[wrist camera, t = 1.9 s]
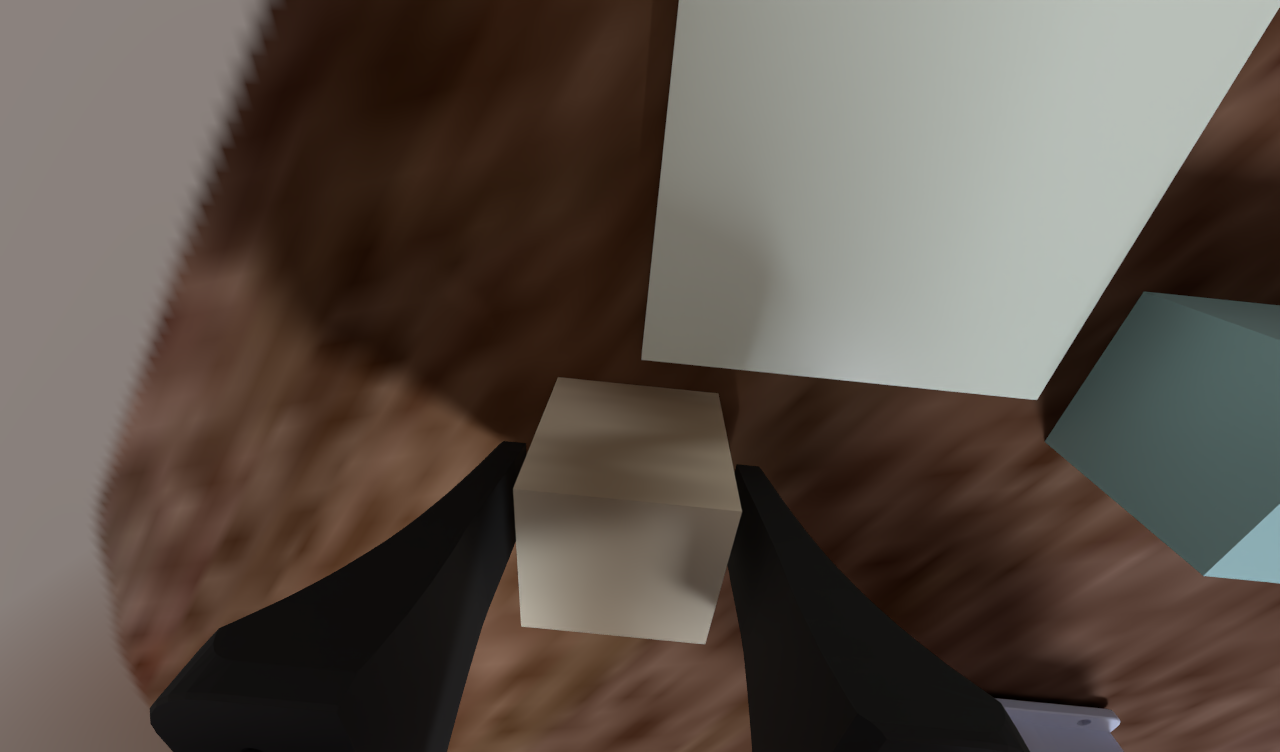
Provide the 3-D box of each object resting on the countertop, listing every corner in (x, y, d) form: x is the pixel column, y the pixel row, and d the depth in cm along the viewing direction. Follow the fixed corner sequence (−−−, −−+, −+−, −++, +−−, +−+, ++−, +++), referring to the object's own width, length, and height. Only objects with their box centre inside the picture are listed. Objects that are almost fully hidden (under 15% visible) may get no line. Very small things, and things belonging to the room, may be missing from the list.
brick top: (1325, 309, 11) (1689, 414, 7) (1196, 455, 13) (1420, 597, 9) (1140, 290, 11) (1405, 385, 7) (1042, 439, 13) (1203, 575, 9)
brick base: (718, 392, 13) (742, 511, 9) (694, 507, 15) (705, 644, 11) (558, 375, 13) (513, 488, 9) (558, 494, 15) (521, 626, 11)
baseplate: (1327, -155, 7) (1396, -184, 7) (1015, 383, 12) (1036, 399, 12) (702, -224, 7) (706, -261, 7) (642, 345, 12) (641, 359, 11)
